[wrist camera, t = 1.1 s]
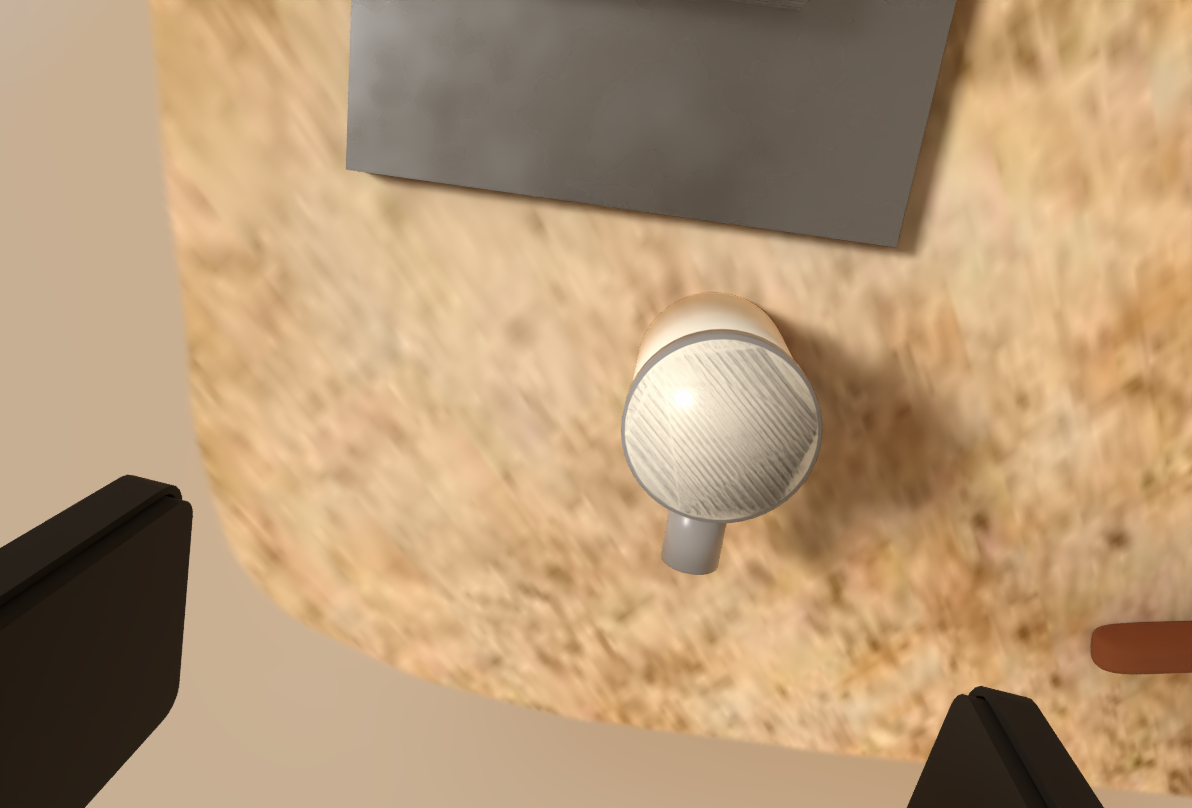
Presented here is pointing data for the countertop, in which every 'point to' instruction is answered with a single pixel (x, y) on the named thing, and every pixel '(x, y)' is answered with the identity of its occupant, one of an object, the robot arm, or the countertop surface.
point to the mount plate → (656, 104)
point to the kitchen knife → (1143, 647)
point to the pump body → (717, 422)
